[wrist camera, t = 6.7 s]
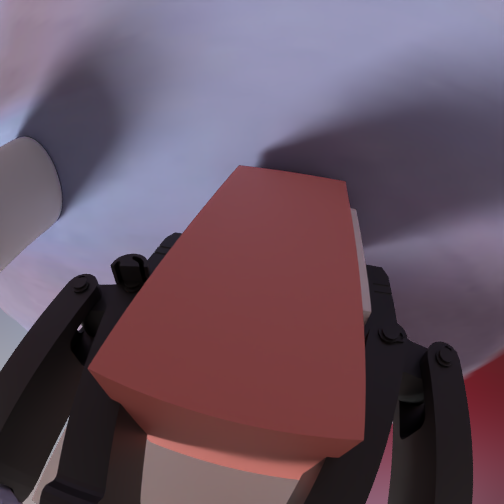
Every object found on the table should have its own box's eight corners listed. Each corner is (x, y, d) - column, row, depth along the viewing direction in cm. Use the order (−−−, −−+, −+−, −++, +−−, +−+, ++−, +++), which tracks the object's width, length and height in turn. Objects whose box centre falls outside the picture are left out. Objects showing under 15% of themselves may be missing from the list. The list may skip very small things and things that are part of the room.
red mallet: (239, 165, 13) (87, 368, 4) (345, 181, 12) (363, 440, 4) (234, 387, 26) (201, 487, 17) (284, 397, 25) (260, 501, 16)
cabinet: (142, 301, 23) (31, 499, 7) (374, 348, 20) (347, 598, 4) (163, 362, 29) (94, 513, 13) (339, 400, 26) (308, 573, 10)
